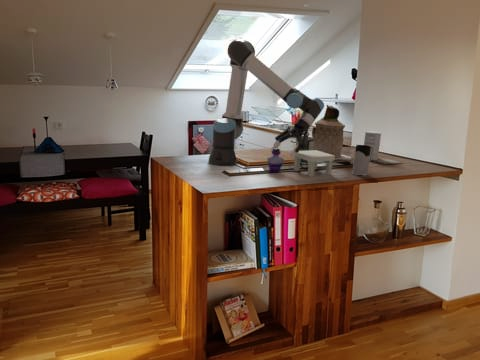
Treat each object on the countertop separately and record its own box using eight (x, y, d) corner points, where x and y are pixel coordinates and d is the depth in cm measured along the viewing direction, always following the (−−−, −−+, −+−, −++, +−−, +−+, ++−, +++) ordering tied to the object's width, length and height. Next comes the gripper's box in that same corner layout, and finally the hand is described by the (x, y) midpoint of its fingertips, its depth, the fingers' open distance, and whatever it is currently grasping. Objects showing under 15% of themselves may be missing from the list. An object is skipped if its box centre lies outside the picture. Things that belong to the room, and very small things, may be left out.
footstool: (309, 176, 228) (311, 157, 226) (292, 169, 241) (293, 151, 238) (332, 174, 236) (335, 155, 233) (314, 168, 248) (316, 150, 246)
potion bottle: (286, 172, 235) (288, 149, 232) (276, 174, 229) (278, 150, 226) (273, 168, 240) (274, 146, 237) (262, 171, 234) (264, 148, 231)
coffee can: (299, 164, 255) (301, 139, 252) (291, 160, 265) (293, 136, 261) (315, 164, 259) (318, 139, 256) (306, 160, 268) (309, 136, 265)
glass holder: (348, 173, 241) (351, 145, 237) (362, 170, 251) (365, 143, 247) (362, 176, 235) (366, 148, 231) (376, 173, 245) (380, 146, 241)
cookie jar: (352, 160, 276) (359, 107, 268) (315, 160, 270) (320, 105, 262) (335, 152, 299) (340, 103, 291) (299, 152, 293) (304, 101, 285)
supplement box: (377, 160, 280) (380, 133, 276) (361, 159, 283) (365, 132, 278) (377, 158, 289) (381, 131, 284) (362, 156, 291) (366, 130, 287)
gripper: (325, 131, 233) (302, 163, 227) (289, 124, 251) (268, 154, 245) (319, 121, 228) (296, 153, 222) (283, 115, 246) (261, 144, 240)
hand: (281, 153), depth 233 cm, fingers open, 13 cm apart
